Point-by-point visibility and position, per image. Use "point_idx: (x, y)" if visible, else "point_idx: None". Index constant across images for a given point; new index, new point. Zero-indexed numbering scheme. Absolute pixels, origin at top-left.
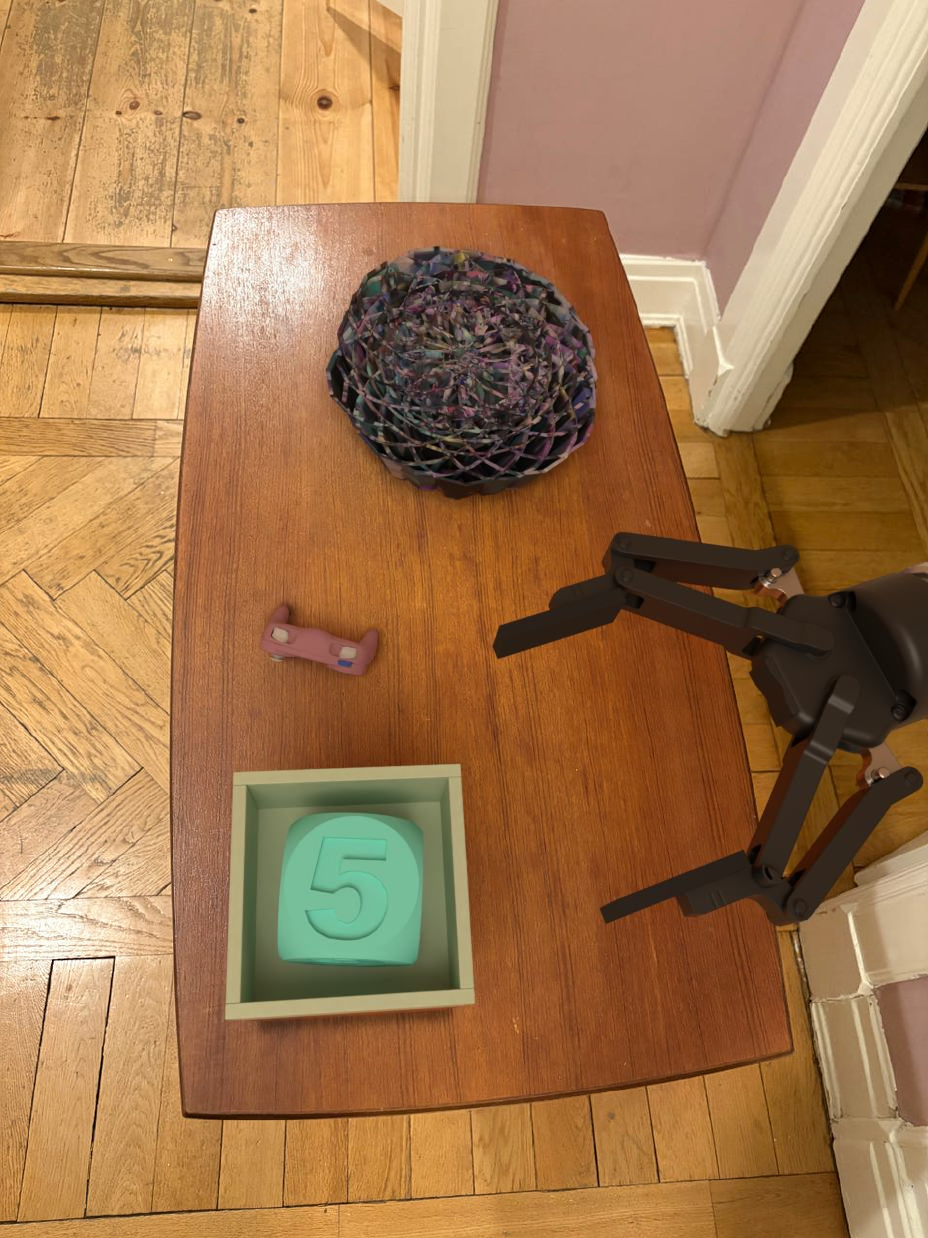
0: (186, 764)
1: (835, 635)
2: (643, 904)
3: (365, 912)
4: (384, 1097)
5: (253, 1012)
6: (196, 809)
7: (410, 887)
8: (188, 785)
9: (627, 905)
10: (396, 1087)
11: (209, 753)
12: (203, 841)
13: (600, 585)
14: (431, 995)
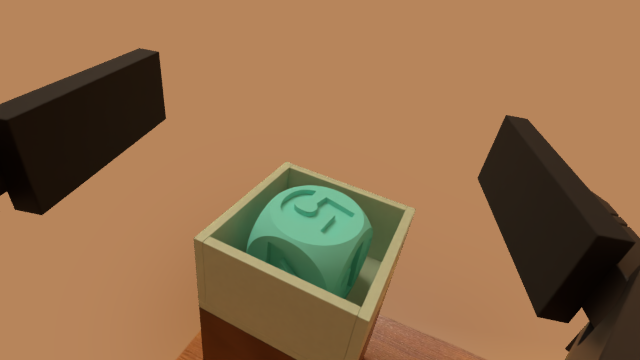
0: (427, 336)
1: None
2: (124, 57)
3: (295, 214)
4: (194, 341)
5: (281, 168)
6: (398, 329)
7: (293, 233)
8: (414, 332)
9: (141, 53)
10: (192, 349)
11: (431, 351)
12: (378, 325)
13: (631, 250)
14: (221, 222)
